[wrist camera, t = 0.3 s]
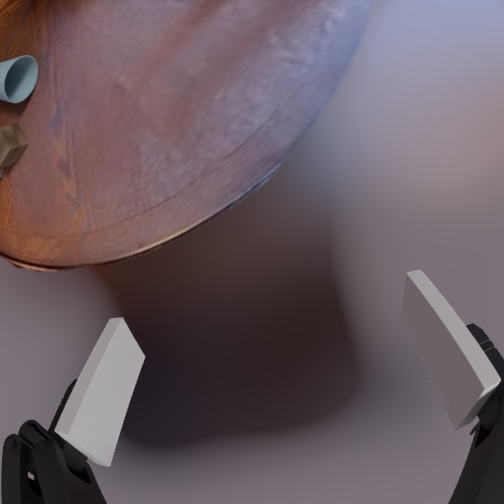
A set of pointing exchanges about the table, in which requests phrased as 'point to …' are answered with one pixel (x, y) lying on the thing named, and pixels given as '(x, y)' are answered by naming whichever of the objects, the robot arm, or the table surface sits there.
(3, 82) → the cup
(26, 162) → the table surface
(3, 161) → the walnut block
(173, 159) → the table surface
